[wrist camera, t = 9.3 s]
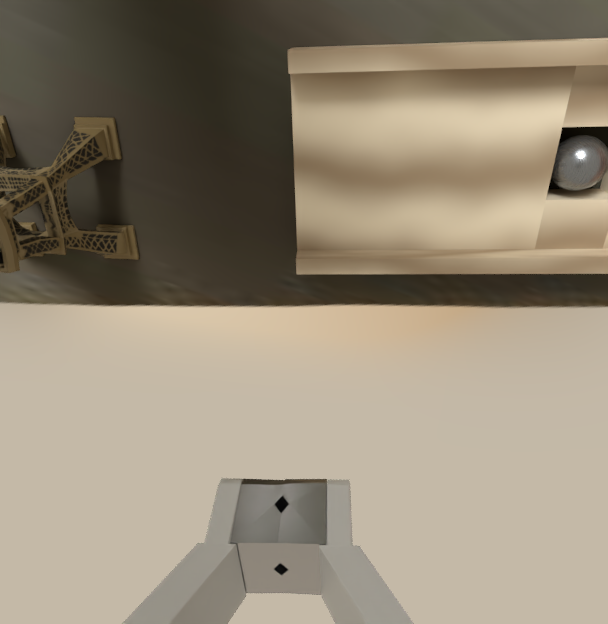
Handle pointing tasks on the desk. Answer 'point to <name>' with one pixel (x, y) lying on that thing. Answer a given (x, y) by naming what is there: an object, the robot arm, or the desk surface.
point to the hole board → (445, 157)
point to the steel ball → (580, 162)
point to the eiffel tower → (58, 199)
